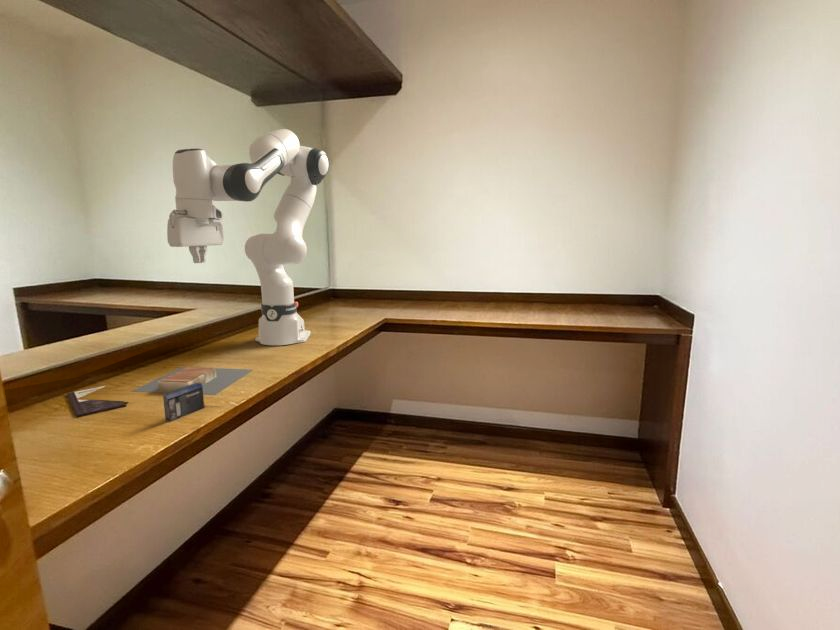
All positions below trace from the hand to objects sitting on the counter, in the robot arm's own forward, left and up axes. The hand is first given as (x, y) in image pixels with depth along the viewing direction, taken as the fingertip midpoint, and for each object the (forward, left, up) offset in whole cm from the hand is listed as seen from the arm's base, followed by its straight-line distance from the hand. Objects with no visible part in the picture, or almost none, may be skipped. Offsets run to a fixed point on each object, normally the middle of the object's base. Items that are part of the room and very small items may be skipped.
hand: (199, 262), depth 119 cm
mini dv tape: (+29, +12, -31) cm, 44 cm away
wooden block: (+6, +2, -29) cm, 30 cm away
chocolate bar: (+24, -14, -32) cm, 42 cm away
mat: (+9, +2, -31) cm, 32 cm away
